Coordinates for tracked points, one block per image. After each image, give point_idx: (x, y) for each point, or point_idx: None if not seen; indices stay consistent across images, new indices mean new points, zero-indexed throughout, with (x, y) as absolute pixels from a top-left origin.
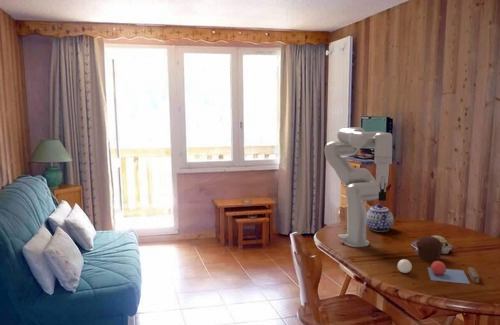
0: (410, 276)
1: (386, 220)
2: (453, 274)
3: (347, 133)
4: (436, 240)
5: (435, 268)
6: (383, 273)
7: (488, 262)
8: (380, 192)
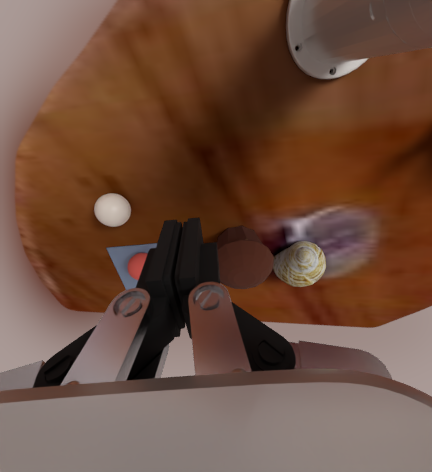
0: None
1: None
2: None
3: None
4: (232, 286)
5: (128, 264)
6: (80, 156)
7: None
8: (152, 291)
